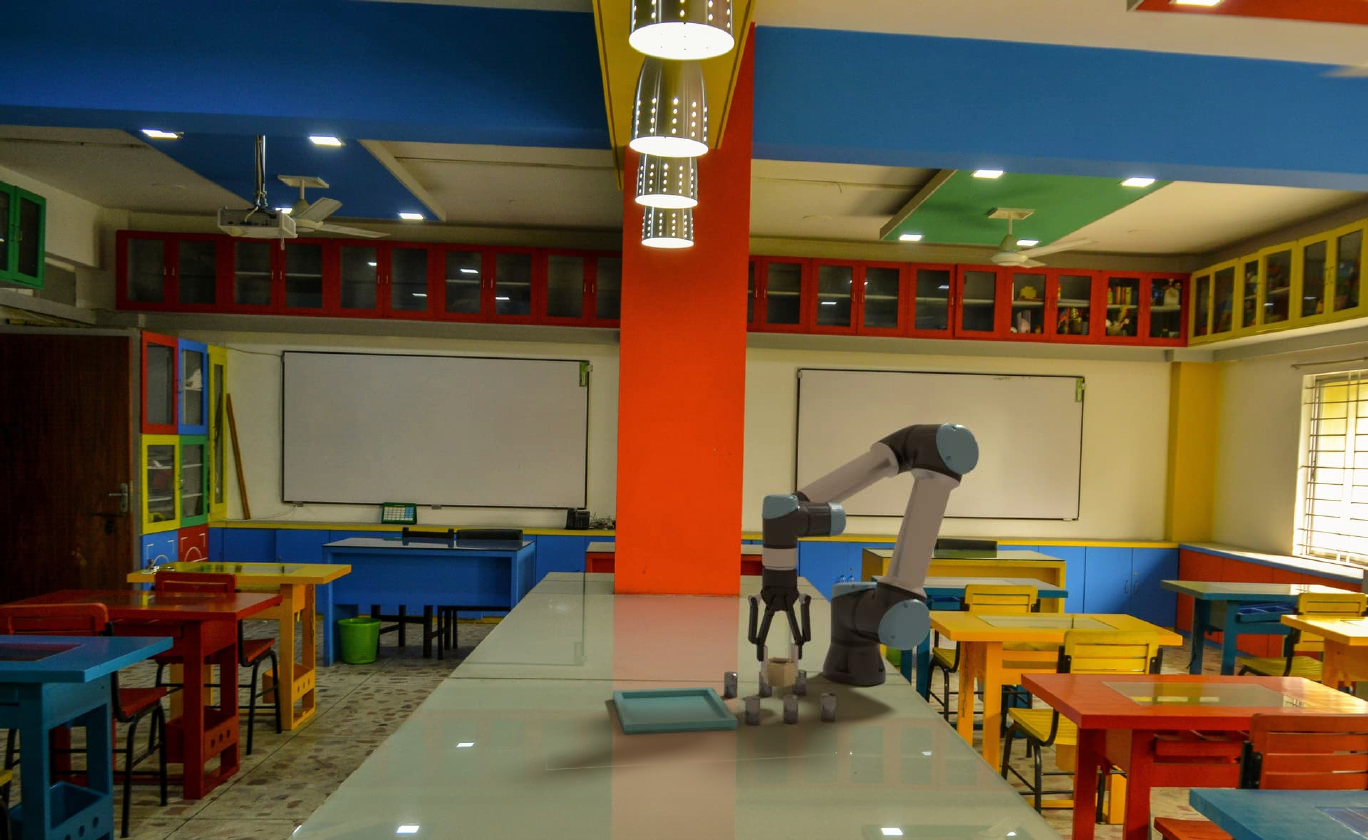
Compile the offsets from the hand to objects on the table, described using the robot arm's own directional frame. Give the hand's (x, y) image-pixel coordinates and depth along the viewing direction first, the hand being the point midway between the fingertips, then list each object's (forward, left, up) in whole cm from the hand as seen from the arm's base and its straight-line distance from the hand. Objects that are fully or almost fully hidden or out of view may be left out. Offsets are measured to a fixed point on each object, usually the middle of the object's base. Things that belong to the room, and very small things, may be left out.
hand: (779, 675), depth 178 cm
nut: (0, 0, -1) cm, 1 cm away
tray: (+23, +1, -7) cm, 24 cm away
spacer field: (0, 0, -7) cm, 7 cm away
